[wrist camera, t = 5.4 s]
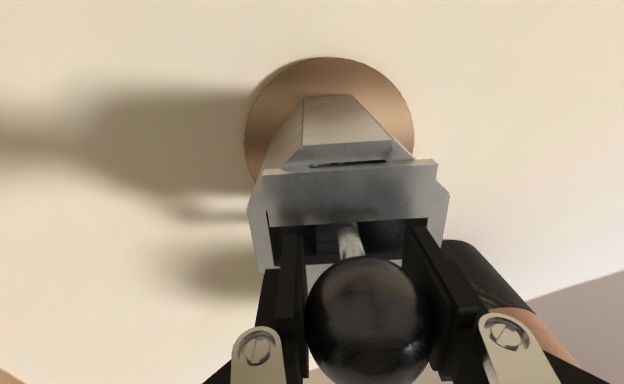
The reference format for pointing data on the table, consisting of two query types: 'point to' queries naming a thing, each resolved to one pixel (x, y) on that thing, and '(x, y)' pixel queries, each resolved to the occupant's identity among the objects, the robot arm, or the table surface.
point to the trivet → (322, 82)
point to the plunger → (367, 317)
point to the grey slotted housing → (340, 187)
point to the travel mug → (501, 295)
